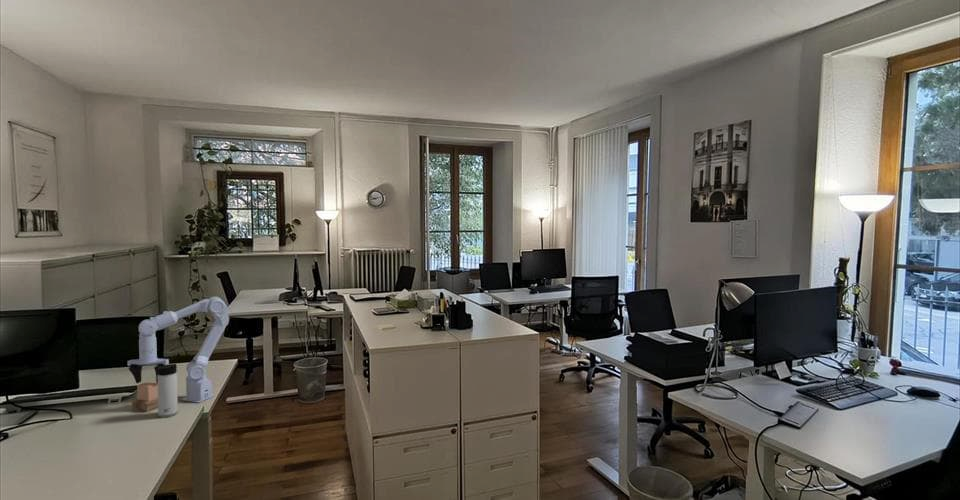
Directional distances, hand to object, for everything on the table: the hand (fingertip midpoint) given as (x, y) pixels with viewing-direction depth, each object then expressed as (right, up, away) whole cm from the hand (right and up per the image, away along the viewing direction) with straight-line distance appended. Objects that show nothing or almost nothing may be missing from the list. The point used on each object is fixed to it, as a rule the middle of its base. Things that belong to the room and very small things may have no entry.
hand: (148, 382), depth 183 cm
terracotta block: (0, -7, +1) cm, 7 cm away
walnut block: (0, -11, +1) cm, 11 cm away
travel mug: (+12, -11, -6) cm, 18 cm away
